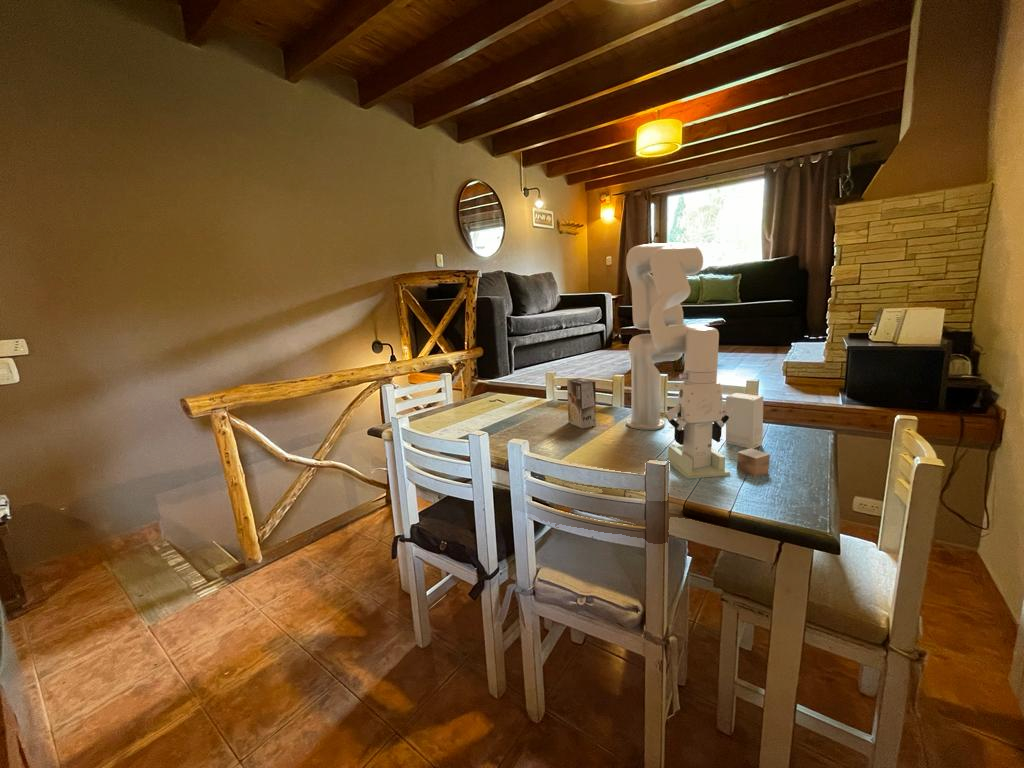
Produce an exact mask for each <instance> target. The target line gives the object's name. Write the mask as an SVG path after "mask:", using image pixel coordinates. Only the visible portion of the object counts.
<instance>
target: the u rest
mask: <svg viewBox="0 0 1024 768" xmlns="http://www.w3.org/2000/svg"><path fill="white" fill-rule="evenodd" d="M682 448H683V445H680V444H671V445H670V444H669V445H668V446H667V456H666V458H665V461H666V460H669V461H670V463H669V465H671V466H672V467H673V468H674V469H676V471H678V472H679V473H680V474H681V475H682V476H684V478H686V479H699V478H700V479H701V478H710V477H711V478H712V477H713V478H714V477H722V476H723V477H725V476H730V475H731V472H730V471H729V470H728V469H726V456H725V455H723V454H722V453H721V452H719V451H717V450H715V449H714V448H712V447H711V465H709V466H705V467H700V468H695V469H692V465H693V459H691V458H690V457H689V456H687V455H686V454H685V453H683V452H682Z"/></svg>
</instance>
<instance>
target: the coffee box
mask: <svg viewBox="0 0 1024 768" xmlns="http://www.w3.org/2000/svg"><path fill="white" fill-rule="evenodd" d="M566 385H567V386H566V388H567V389H566V390H567V391H566V392H567V416H568V418H567V419H568V422H567V423H568V424H570V423H571V425H573V426H575V427H578V428H580V429H582V430H583V429H589V428H592V426H593V427H595V426H597V407H596V405H597V402H596V401H597V400H596V398H597V397H596V394H597V393H596V392H597V390H596V381H593V380H590V379H586V378H582V377H577V378H572V379H567V380H566Z"/></svg>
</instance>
